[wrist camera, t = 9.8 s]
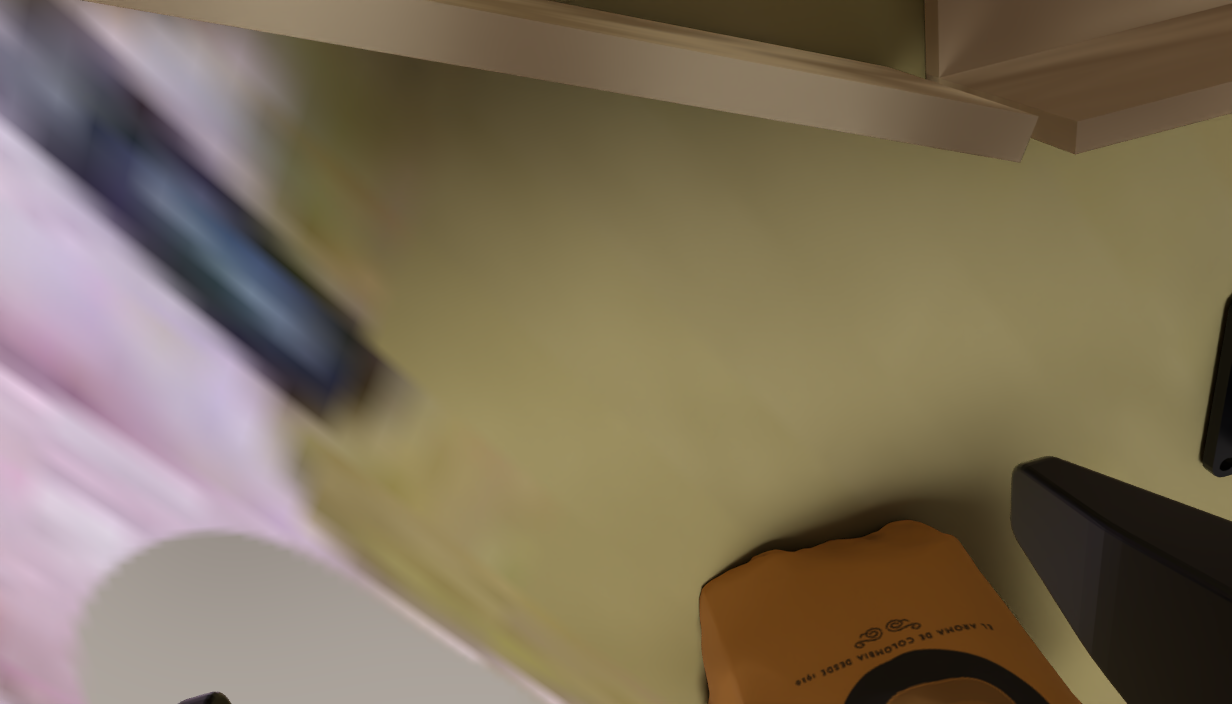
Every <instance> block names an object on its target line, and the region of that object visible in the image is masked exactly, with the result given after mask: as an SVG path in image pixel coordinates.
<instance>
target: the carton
mask: <svg viewBox="0 0 1232 704" xmlns="http://www.w3.org/2000/svg"><path fill="white" fill-rule="evenodd" d="M925 45H926V79H927V80H930V81H933V82H936V83H939V84H942V85H945V86H948V87H951V88H954V89H957V90H960V91H963V92H966V93H969V94H972V95H975V96H978V97H981V98H984V99H987V100H990V101H994V102H997V103H1000V104H1003V105H1006V106H1009V107H1012V108H1015V109H1018V110H1021V111H1024V112H1027V113H1030V114H1033V115H1036V116H1039V117H1038V120H1037V122H1036V125H1035V127H1034V130H1033V132H1032V135H1031V137H1030V138H1033V139H1035V140H1038V141H1041V142H1043V143H1046V144H1049V145H1051V146H1054V147H1057V148H1060V149H1062V150H1065V151H1068V152H1070V153H1073V154H1078V153H1082V152H1086V151H1090V150H1094V149H1097V148H1101V147H1105V146H1109V145H1113V144H1116V143H1120V142H1124V141H1128V140H1132V139H1136V138H1139V137H1143V136H1147V135H1151V134H1155V133H1158V132H1162V131H1166V130H1170V129H1174V128H1177V127H1181V126H1185V125H1189V124H1193V123H1197V122H1200V121H1204V120H1208V119H1212V118H1216V117H1219V116H1223V115H1227V114H1231V113H1232V0H925Z"/></svg>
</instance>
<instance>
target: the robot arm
mask: <svg viewBox="0 0 1232 704" xmlns="http://www.w3.org/2000/svg"><path fill="white" fill-rule="evenodd" d="M1203 467H1204V468H1205V469H1206V470H1208V471H1209V472H1210V473H1212V474H1213V475H1215V476H1217V477H1225V476H1229V475H1232V304H1231V306H1230V308H1229V311H1228V317H1227V323H1226V329H1225V334H1224V340H1223V346H1222V352H1221V358H1220V363H1219V369H1218V375H1217V381H1216V386H1215V392H1214V398H1213V404H1212V410H1211V415H1210V421H1209V427H1208V433H1207V439H1206V444H1205V450H1204V456H1203ZM1010 520H1011V527H1012V530H1013V533H1014V535H1015V538H1016V540H1017V541H1018V543H1019V545H1020V546H1021V548H1022V549H1023V551H1024V553H1025V554H1026V556H1027V557H1028V559H1029V561H1030V562H1031V564H1032V565H1033V567H1034V568H1035V570H1036V572H1037V573H1038V575H1039V576H1040V578H1041V580H1042V581H1043V583H1044V584H1045V586H1046V587H1047V589H1048V591H1049V592H1050V594H1051V595H1052V597H1053V599H1054V600H1055V602H1056V603H1057V605H1058V606H1059V608H1060V610H1061V611H1062V613H1063V614H1064V616H1065V618H1066V619H1067V621H1068V622H1069V624H1070V625H1071V627H1072V629H1073V630H1074V632H1075V633H1076V635H1077V637H1078V638H1079V640H1080V641H1081V643H1082V644H1083V646H1084V647H1085V649H1086V650H1087V651H1088V653H1089V654H1090V656H1091V657H1092V659H1093V660H1094V661H1095V663H1096V664H1097V665H1098V667H1099V668H1100V669H1101V671H1102V672H1103V673H1104V675H1105V676H1106V677H1107V679H1108V680H1109V681H1110V682H1111V684H1112V685H1113V686H1114V687H1115V689H1116V690H1117V691H1118V693H1119V694H1120V695H1121V696H1122V698H1123V699H1124V700H1125V701H1126V703H1127V704H1232V521H1229V520H1226V519H1224V518H1221V517H1218V516H1215V515H1213V514H1210V513H1207V512H1205V511H1202V510H1199V509H1196V508H1194V507H1191V506H1188V505H1185V504H1183V503H1180V502H1177V501H1174V500H1172V499H1169V498H1166V497H1164V496H1161V495H1158V494H1155V493H1153V492H1150V491H1147V490H1144V489H1142V488H1139V487H1136V486H1134V485H1131V484H1128V483H1125V482H1123V481H1120V480H1117V479H1114V478H1112V477H1109V476H1106V475H1103V474H1101V473H1098V472H1095V471H1093V470H1090V469H1087V468H1084V467H1082V466H1079V465H1076V464H1073V463H1071V462H1068V461H1065V460H1062V459H1060V458H1056V457H1053V456H1046V457H1041V458H1038V459H1034V460H1031V461H1027V462H1024V463H1020V464H1018V465H1017V466H1016V467H1015V468H1014V470H1013V472H1012V482H1011V512H1010ZM178 704H231V703H230V701H229V699H228V698H227V697H226V696H225V695H224V694H222V693H220V692H210V693H207V694H203V695H200V696H196V697H193V698H189V699H186V700H184V701H181V702H180V703H178Z"/></svg>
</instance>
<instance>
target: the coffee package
mask: <svg viewBox="0 0 1232 704" xmlns="http://www.w3.org/2000/svg"><path fill="white" fill-rule="evenodd" d="M699 600H700V623H701V629H702V640H701V646H702V656H703V663H704V667H705V672H706V677H707V681H708V687H709V692H710V696H709V701H708V704H1082V703H1081V702H1080V701H1079V700H1078V699H1077V698H1076V697H1075V695H1074V694H1073V693H1072V692H1071V691H1070V689H1069V688H1068V687H1067V685H1066V684H1065V683H1064V682H1063V680H1062V679H1061V678H1060V676H1059V675H1058V674H1057V672H1056V671H1055V670H1054V668H1053V667H1052V666H1051V665H1050V663H1049V662H1048V661H1047V659H1046V658H1045V657H1044V655H1043V654H1042V653H1041V652H1040V650H1039V649H1038V647H1037V646H1036V645H1035V643H1034V642H1033V641H1032V639H1031V638H1030V637H1029V635H1028V634H1027V633H1026V631H1025V630H1024V629H1023V627H1022V626H1021V625H1020V623H1019V622H1018V621H1017V619H1016V618H1015V617H1014V615H1013V614H1012V612H1011V611H1010V610H1009V608H1008V607H1007V606H1006V604H1005V603H1004V602H1003V600H1002V599H1001V598H1000V597H999V595H998V594H997V593H996V591H995V590H994V589H993V587H992V586H991V585H990V584H989V582H988V581H987V580H986V579H985V577H984V576H983V575H982V573H981V572H980V571H979V570H978V568H977V567H976V565H975V564H974V562H973V560H972V559H971V557H970V556H969V554H968V553H967V552H966V550H965V549H964V547H963V546H962V544H961V543H960V542H959V540H958V539H957V538H955V537H954V536H953V535H949V534H945V533H941V532H940V531H938V530H936V529H934V528H933V527H931V526H928V525H926V524H923V523H921V522H917V521H912V520H901V521H894V522H891V523H888V524H887V525H885V526H884V527H883V528H881V529H880V530H879V531H877V532H874V533H871V534H869V535H866V536H864V537H860V538H854V539H835V540H829V541H827V542H825V543H823V544H820V545H817V546H814V547H812V548H803V549H800V550H798V551H795V552H787V551H783V550H777V549H775V550H771V551H766V552H764V553H762V554H759V555H757V556H754V557H752V559H751V560H750V561H749V562H748V563H746V564H743V565H741V566H738V567H736V568H733V569H731V570H728V571H727V572H725V573H724V574H722V575H720V576H718V577H717V578H715V579H713V580H711V581H710V582H709V583H707V584H706V585H705V586H704V587H703V589H702V592H701V596H700V599H699Z"/></svg>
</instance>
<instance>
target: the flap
mask: <svg viewBox="0 0 1232 704" xmlns="http://www.w3.org/2000/svg"><path fill="white" fill-rule="evenodd" d="M82 1H88V2H94V3H100V4H105V5H111V6H117V7H123V8H129V9H134V10H140V11H146V12H152V13H157V14H163V15H169V16H175V17H181V18H186V19H192V20H198V21H204V22H210V23H215V24H221V25H227V26H233V27H239V28H244V29H250V30H256V31H262V32H267V33H273V34H279V35H285V36H291V37H296V38H302V39H308V40H314V41H320V42H325V43H331V44H337V45H343V46H348V47H354V48H360V49H366V50H372V51H377V52H383V53H389V54H395V55H401V56H406V57H412V58H418V59H424V60H430V61H435V62H441V63H447V64H453V65H458V66H464V67H470V68H476V69H482V70H487V71H493V72H499V73H505V74H511V75H516V76H522V77H528V78H534V79H539V80H545V81H551V82H557V83H563V84H568V85H574V86H580V87H586V88H592V89H597V90H603V91H609V92H615V93H620V94H626V95H632V96H638V97H644V98H649V99H655V100H661V101H667V102H673V103H678V104H684V105H690V106H696V107H702V108H707V109H713V110H719V111H725V112H730V113H736V114H742V115H748V116H754V117H759V118H765V119H771V120H777V121H783V122H788V123H794V124H800V125H806V126H811V127H817V128H823V129H829V130H835V131H840V132H846V133H852V134H858V135H864V136H869V137H875V138H881V139H887V140H893V141H898V142H904V143H910V144H916V145H921V146H927V147H933V148H939V149H945V150H950V151H956V152H962V153H968V154H974V155H979V156H985V157H991V158H997V159H1002V160H1008V161H1014V162H1021V160H1022V157H1023V155H1024V152H1025V150H1026V147H1027V145H1028V142H1029V140H1030V137H1031V135H1032V132H1033V130H1034V127H1035V125H1036V122H1037V120H1038V117H1039V116H1036V115H1033V114H1030V113H1027V112H1024V111H1021V110H1018V109H1015V108H1012V107H1009V106H1006V105H1003V104H1000V103H997V102H994V101H990V100H987V99H984V98H981V97H978V96H975V95H972V94H969V93H966V92H963V91H960V90H957V89H954V88H951V87H948V86H945V85H942V84H939V83H936V82H933V81H930V80H927V79H923V78H920V77H917V76H914V75H911V74H908V73H905V72H902V71H899V70H896V69H893V68H890V67H886V66H881V65H876V64H871V63H866V62H860V61H855V60H850V59H845V58H840V57H835V56H830V55H825V54H820V53H815V52H809V51H804V50H799V49H794V48H789V47H784V46H779V45H774V44H769V43H764V42H758V41H753V40H748V39H743V38H738V37H733V36H728V35H723V34H718V33H713V32H707V31H702V30H697V29H692V28H687V27H682V26H677V25H672V24H667V23H662V22H656V21H651V20H646V19H641V18H636V17H631V16H626V15H621V14H616V13H611V12H605V11H600V10H595V9H590V8H585V7H580V6H575V5H570V4H565V3H560V2H554V1H549V0H82Z"/></svg>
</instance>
